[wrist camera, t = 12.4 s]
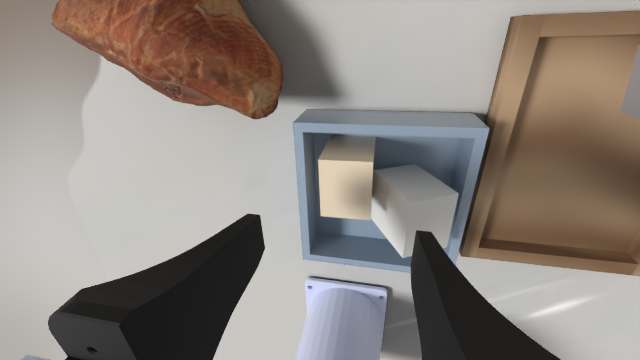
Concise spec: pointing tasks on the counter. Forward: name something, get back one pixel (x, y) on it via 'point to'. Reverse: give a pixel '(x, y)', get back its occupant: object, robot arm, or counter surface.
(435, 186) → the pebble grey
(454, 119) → the dish
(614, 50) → the tray
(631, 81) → the matte stone cube
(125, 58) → the bread loaf
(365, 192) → the cream cube
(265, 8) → the counter surface
